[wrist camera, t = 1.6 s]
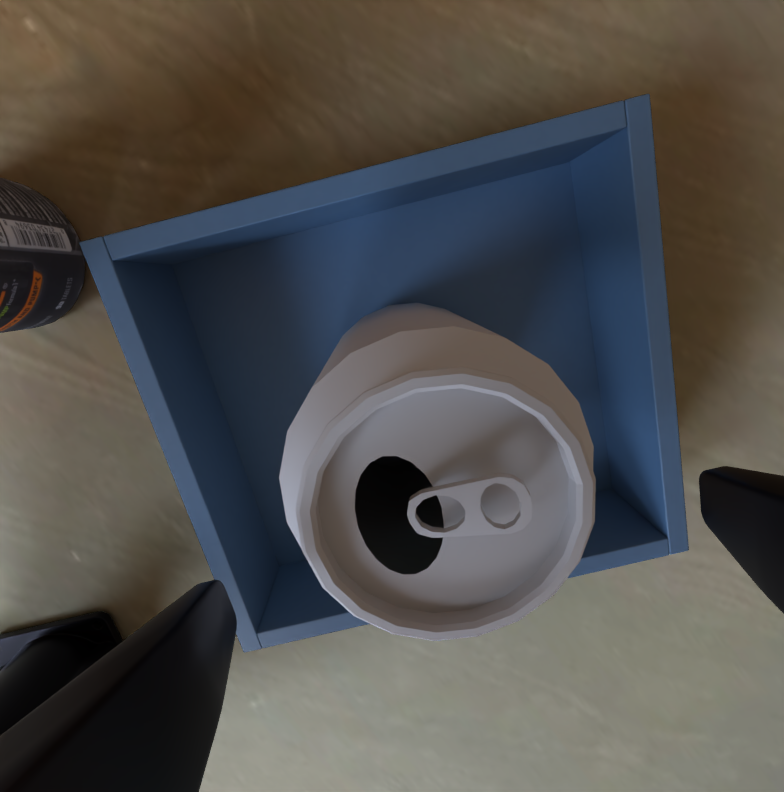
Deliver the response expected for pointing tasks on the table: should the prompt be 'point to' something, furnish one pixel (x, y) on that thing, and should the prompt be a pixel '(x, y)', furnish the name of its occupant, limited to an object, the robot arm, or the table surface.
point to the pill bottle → (36, 259)
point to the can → (438, 476)
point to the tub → (400, 284)
